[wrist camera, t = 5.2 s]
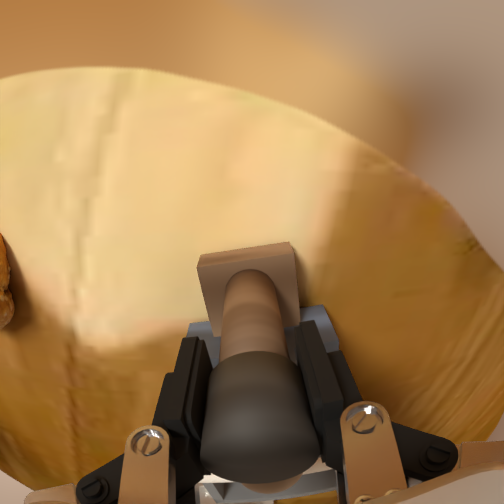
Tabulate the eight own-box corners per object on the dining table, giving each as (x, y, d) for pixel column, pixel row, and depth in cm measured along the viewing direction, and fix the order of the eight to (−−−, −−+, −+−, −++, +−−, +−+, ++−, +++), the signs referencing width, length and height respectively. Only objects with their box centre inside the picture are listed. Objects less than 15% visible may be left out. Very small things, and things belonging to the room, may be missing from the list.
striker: (323, 330, 19) (382, 488, 8) (197, 347, 19) (170, 512, 8) (318, 237, 17) (422, 386, 6) (172, 259, 17) (90, 423, 6)
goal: (340, 435, 24) (358, 498, 17) (216, 452, 25) (213, 517, 18) (345, 378, 21) (374, 453, 14) (192, 398, 22) (181, 478, 15)
